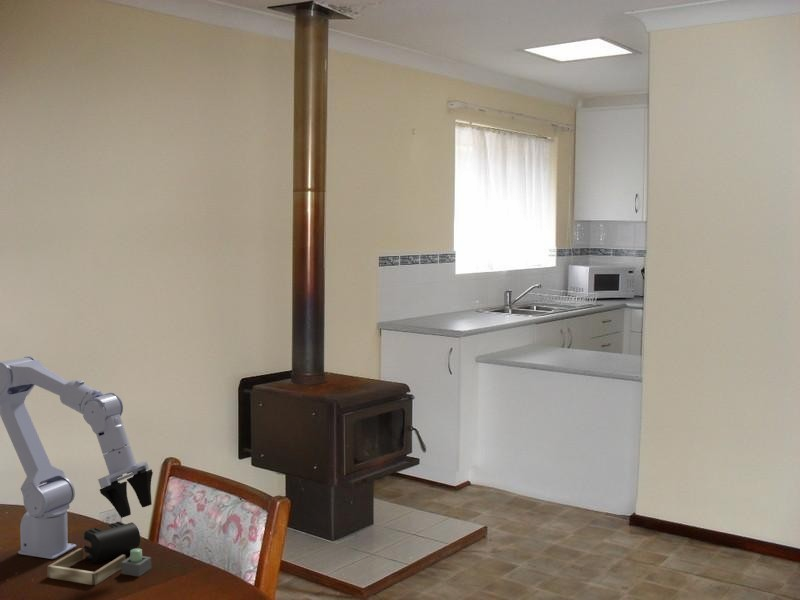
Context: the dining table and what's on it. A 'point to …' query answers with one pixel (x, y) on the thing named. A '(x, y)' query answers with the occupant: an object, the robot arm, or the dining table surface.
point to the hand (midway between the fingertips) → (136, 511)
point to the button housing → (136, 566)
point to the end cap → (111, 541)
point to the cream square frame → (81, 576)
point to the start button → (136, 555)
